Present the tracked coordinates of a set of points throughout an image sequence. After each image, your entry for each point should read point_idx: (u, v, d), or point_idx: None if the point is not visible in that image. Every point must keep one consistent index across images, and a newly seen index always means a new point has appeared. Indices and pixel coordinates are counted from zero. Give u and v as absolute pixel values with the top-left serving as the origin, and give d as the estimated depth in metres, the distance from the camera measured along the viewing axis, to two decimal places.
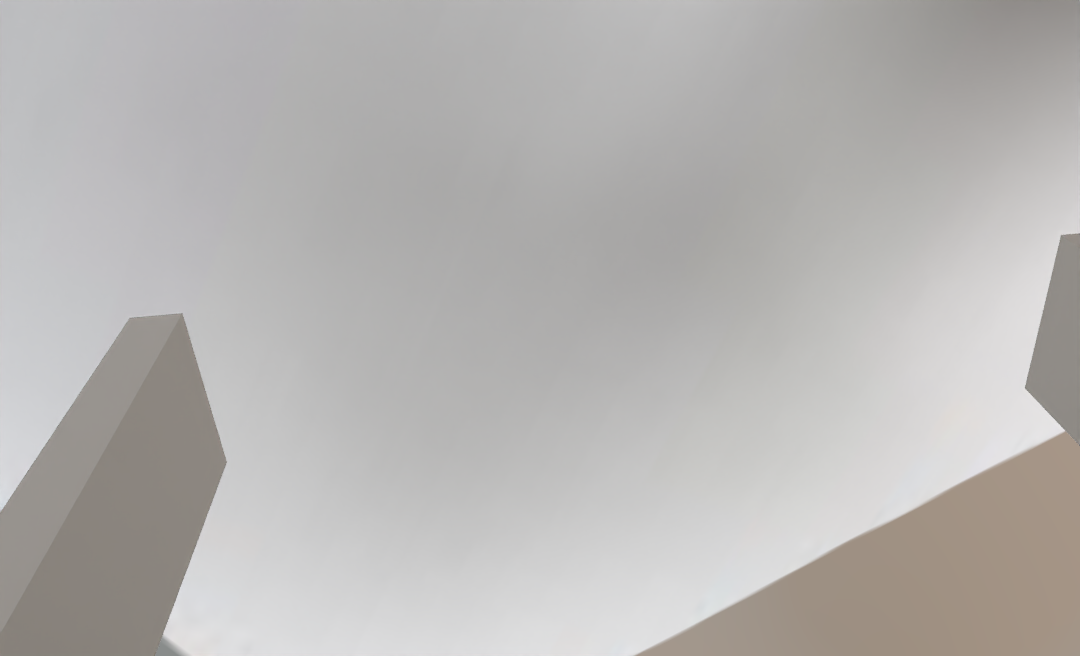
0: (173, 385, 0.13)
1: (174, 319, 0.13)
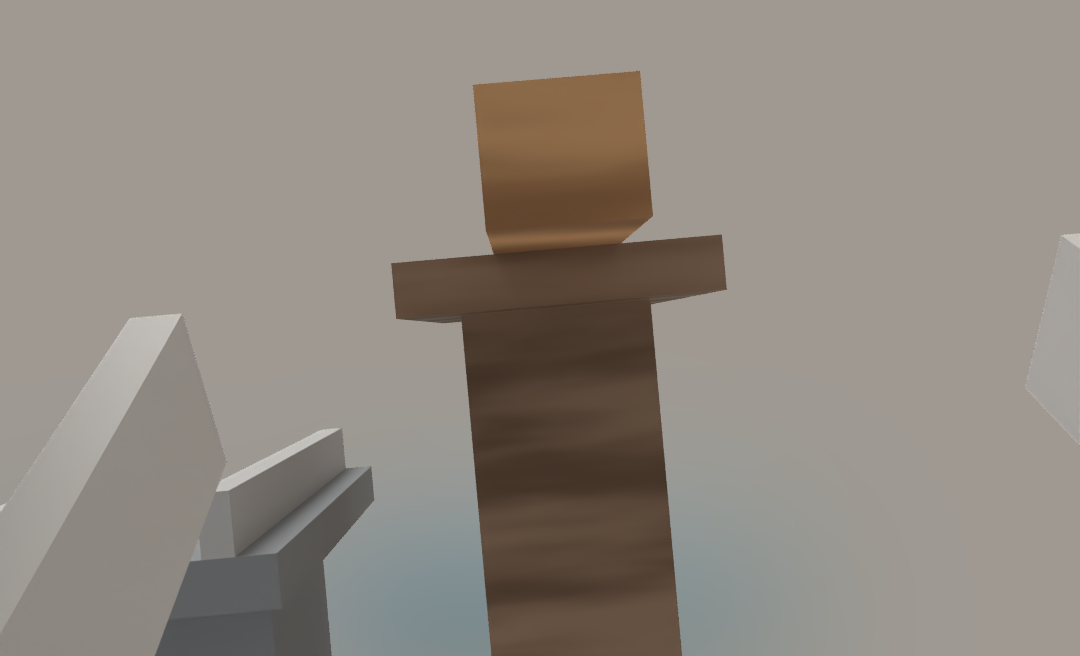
0: (173, 385, 0.13)
1: (173, 319, 0.13)
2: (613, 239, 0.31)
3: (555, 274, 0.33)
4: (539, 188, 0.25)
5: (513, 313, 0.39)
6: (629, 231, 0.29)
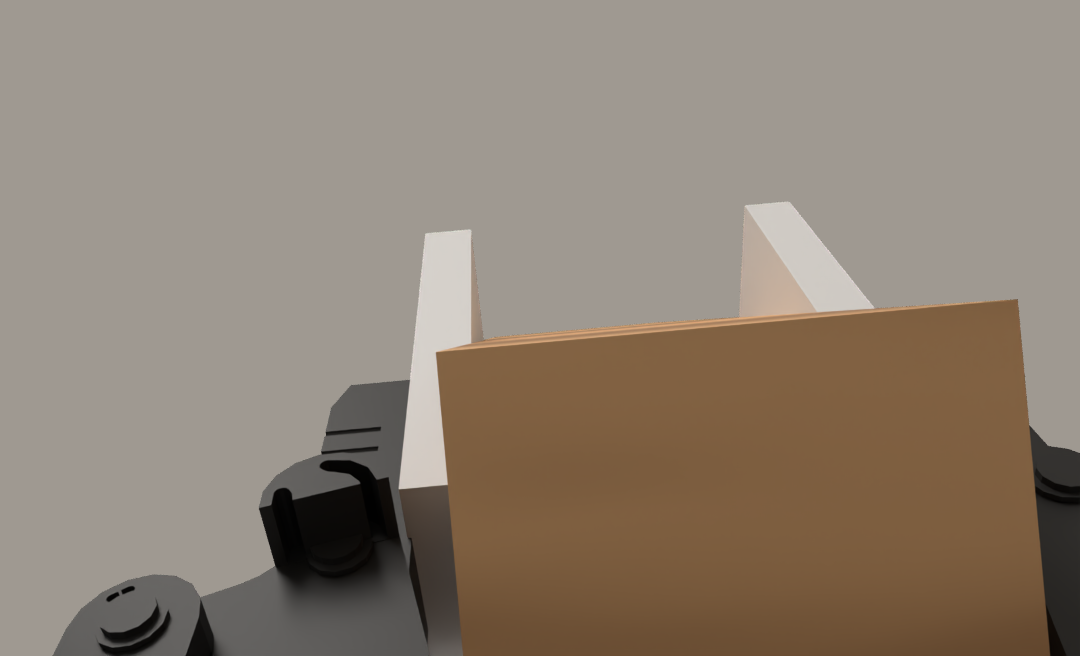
0: (474, 288, 0.14)
1: (465, 234, 0.15)
2: None
3: None
4: None
5: None
6: None
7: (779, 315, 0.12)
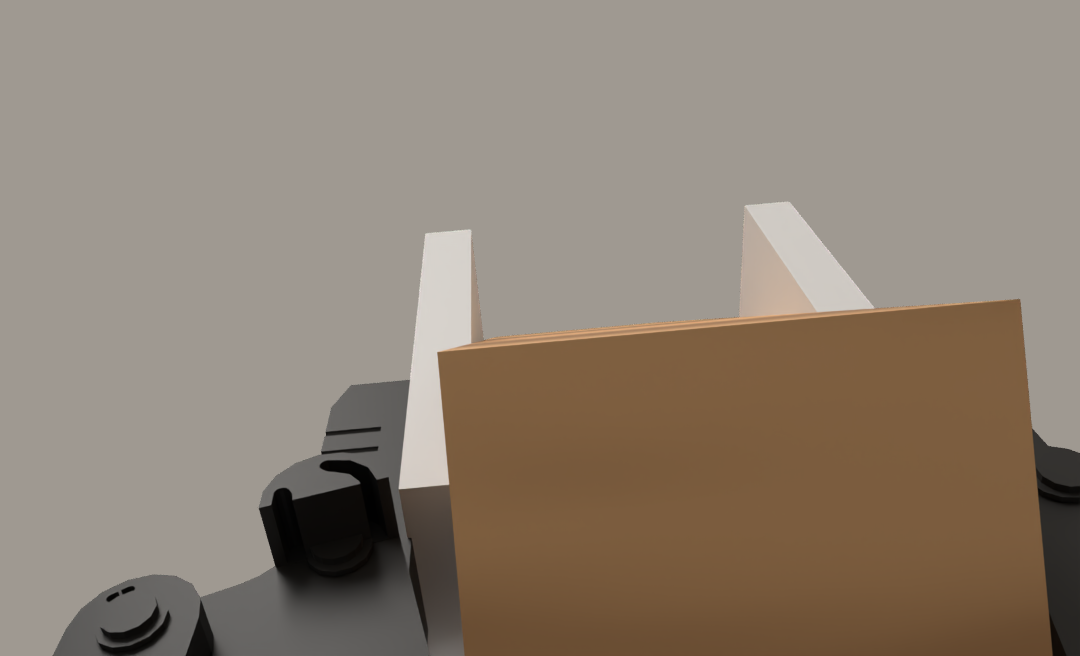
0: (474, 288, 0.14)
1: (466, 233, 0.15)
2: None
3: None
4: None
5: None
6: None
7: (780, 315, 0.12)
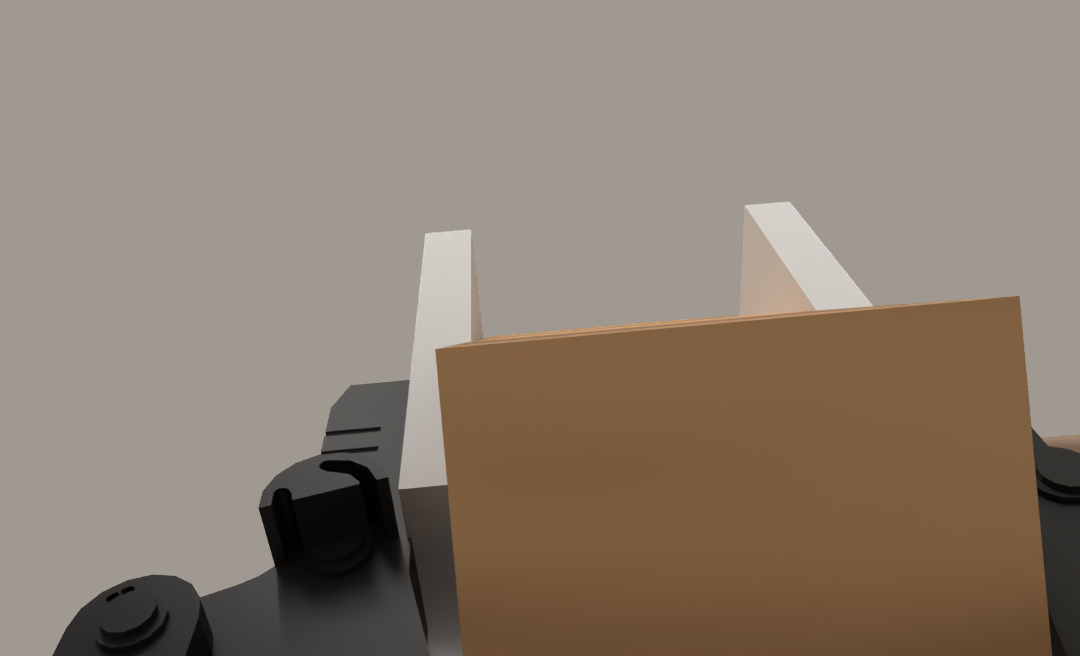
0: (474, 288, 0.14)
1: (465, 234, 0.15)
2: None
3: None
4: None
5: None
6: None
7: (779, 313, 0.12)
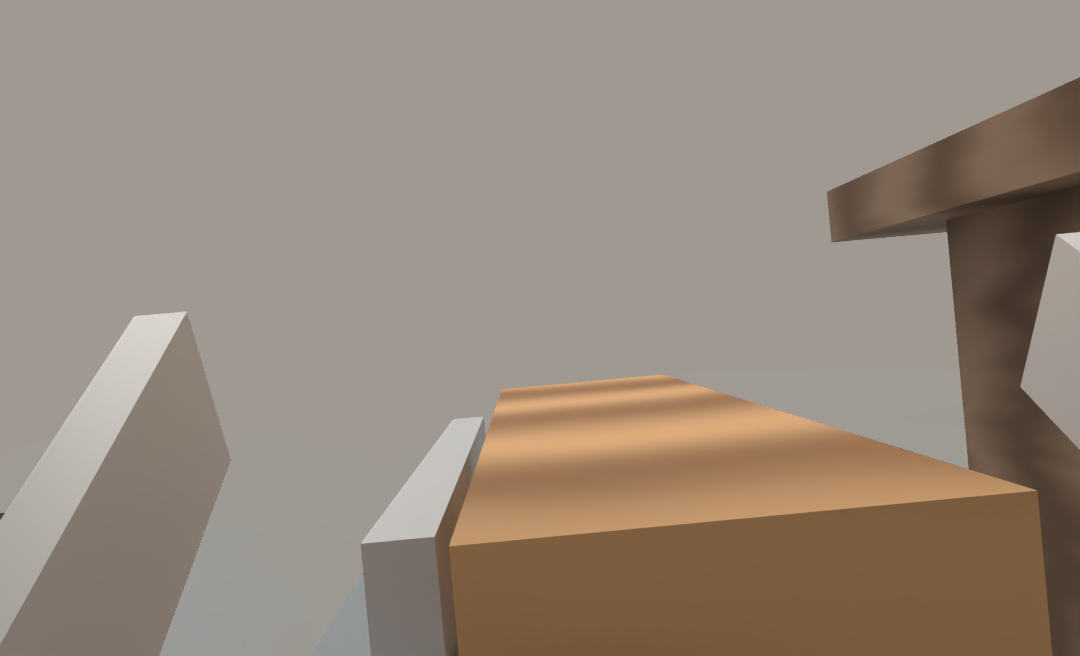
0: (178, 383, 0.13)
1: (177, 317, 0.13)
2: None
3: None
4: None
5: None
6: None
7: (790, 427, 0.12)
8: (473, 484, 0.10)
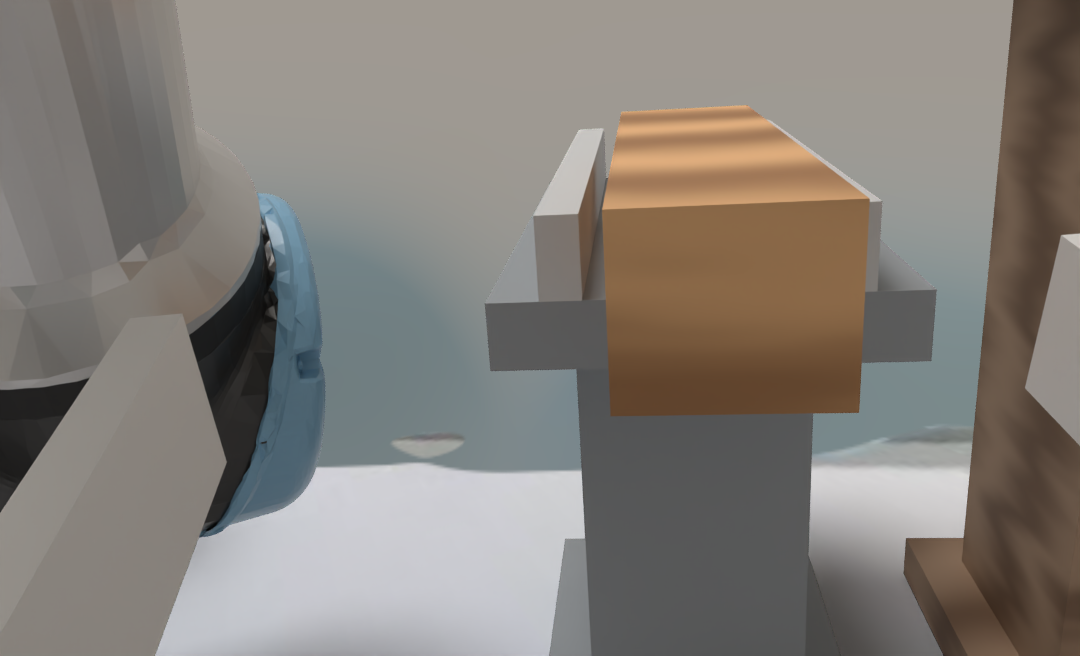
0: (173, 385, 0.13)
1: (173, 320, 0.13)
2: None
3: None
4: (693, 365, 0.17)
5: None
6: None
7: (795, 158, 0.21)
8: (609, 183, 0.19)
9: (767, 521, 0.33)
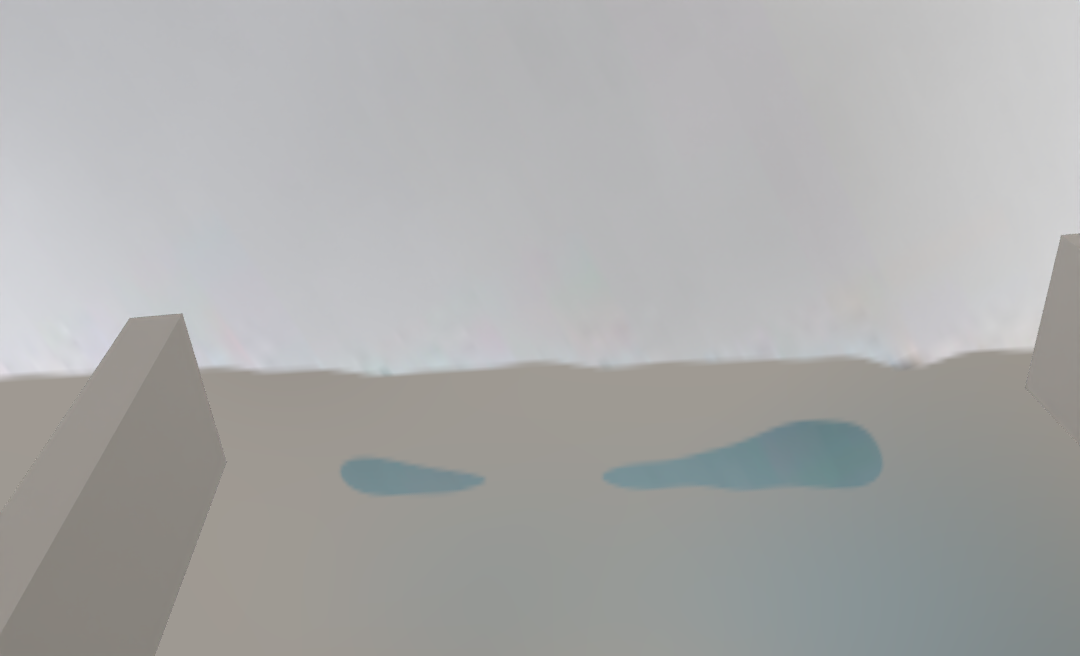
0: (173, 385, 0.13)
1: (173, 319, 0.13)
2: None
3: None
4: None
5: None
6: None
7: None
8: None
9: None
